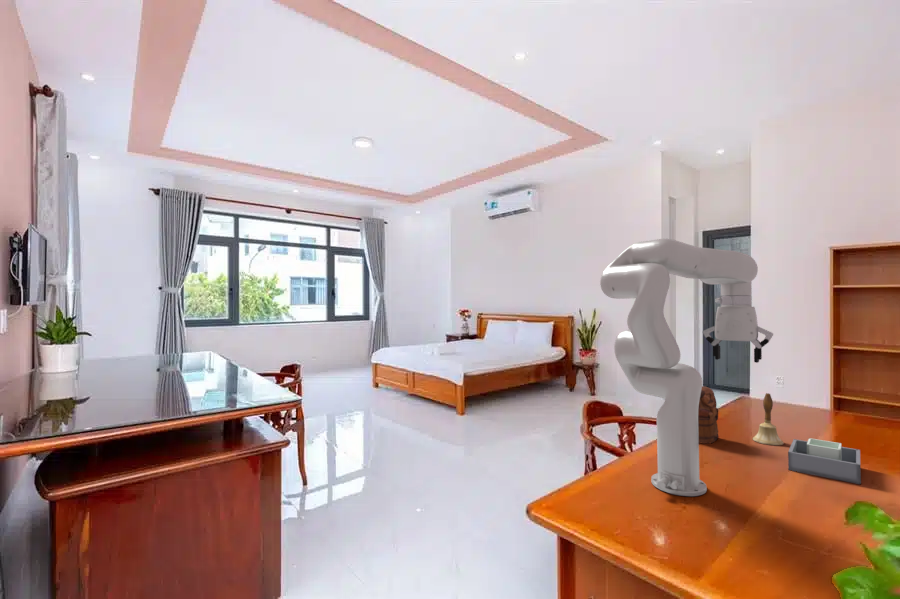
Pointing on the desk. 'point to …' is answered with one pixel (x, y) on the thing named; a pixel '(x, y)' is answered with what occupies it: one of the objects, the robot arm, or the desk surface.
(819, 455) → the small crate
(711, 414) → the wooden figurine
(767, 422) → the hand bell
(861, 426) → the desk surface
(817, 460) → the box
